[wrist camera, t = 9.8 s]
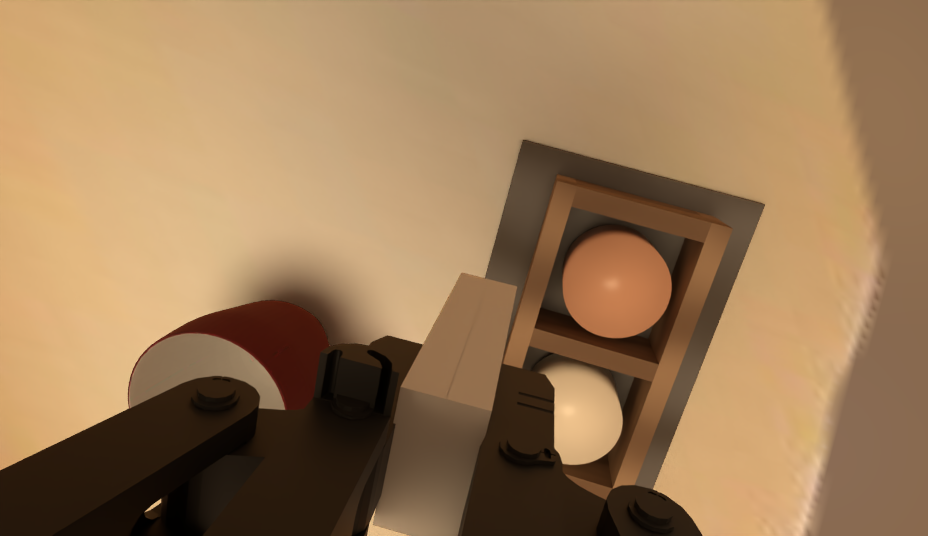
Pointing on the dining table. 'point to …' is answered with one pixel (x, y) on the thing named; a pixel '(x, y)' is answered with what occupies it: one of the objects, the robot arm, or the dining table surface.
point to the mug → (239, 354)
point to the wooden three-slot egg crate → (636, 357)
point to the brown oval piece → (615, 282)
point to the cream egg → (582, 408)
